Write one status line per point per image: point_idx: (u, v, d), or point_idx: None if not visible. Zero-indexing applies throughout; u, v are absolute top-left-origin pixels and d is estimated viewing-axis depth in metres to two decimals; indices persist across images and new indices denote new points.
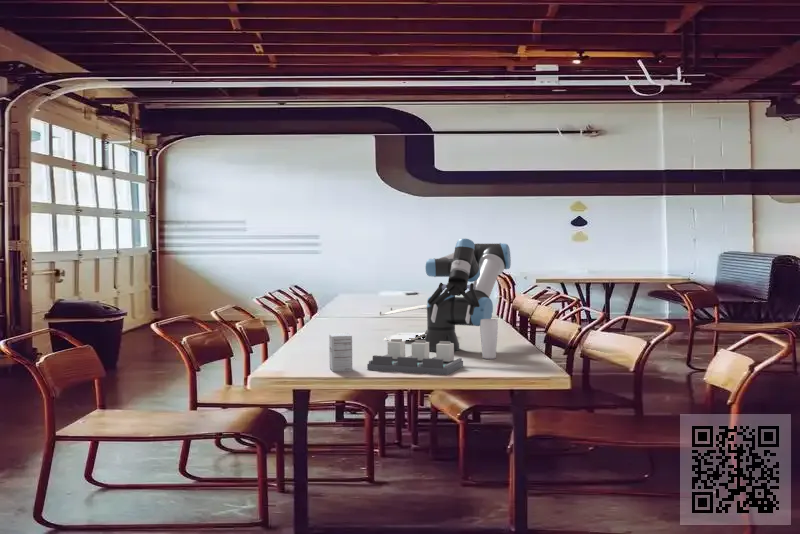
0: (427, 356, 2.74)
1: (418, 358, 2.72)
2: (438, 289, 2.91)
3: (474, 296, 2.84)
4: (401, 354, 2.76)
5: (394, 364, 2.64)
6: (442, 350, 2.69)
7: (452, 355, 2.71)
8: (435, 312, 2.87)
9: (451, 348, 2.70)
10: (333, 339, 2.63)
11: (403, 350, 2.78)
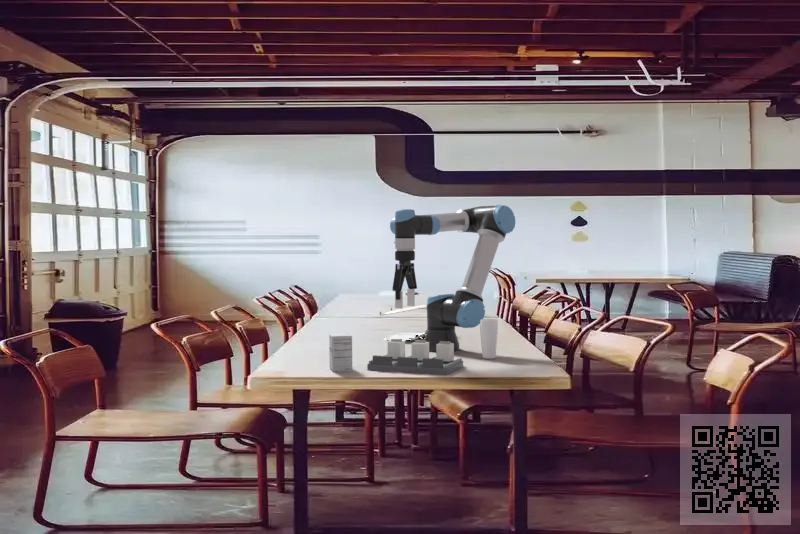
0: (427, 356, 2.74)
1: (418, 358, 2.72)
2: None
3: None
4: (401, 354, 2.76)
5: (394, 364, 2.64)
6: (442, 350, 2.69)
7: (452, 355, 2.71)
8: (410, 296, 2.90)
9: (451, 348, 2.70)
10: (333, 339, 2.63)
11: (403, 350, 2.78)
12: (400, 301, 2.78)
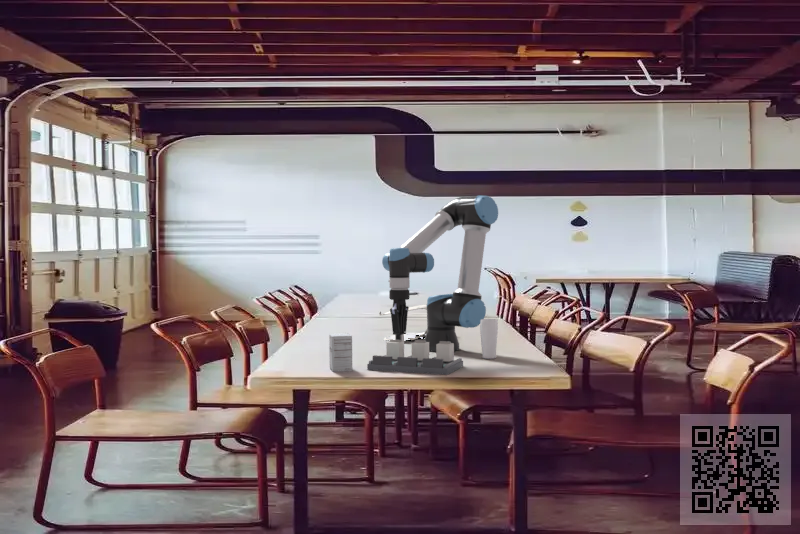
0: (427, 356, 2.74)
1: (418, 358, 2.72)
2: None
3: None
4: (400, 355, 2.75)
5: (394, 364, 2.64)
6: (442, 350, 2.69)
7: (452, 355, 2.71)
8: None
9: (451, 348, 2.70)
10: (333, 339, 2.63)
11: (402, 350, 2.77)
12: None
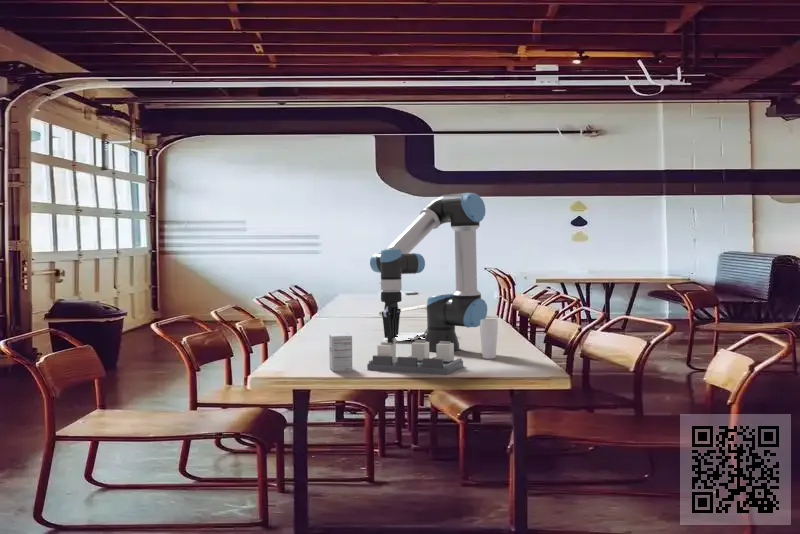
0: (427, 356, 2.74)
1: (418, 358, 2.72)
2: None
3: None
4: None
5: (394, 364, 2.64)
6: (442, 350, 2.69)
7: (452, 355, 2.71)
8: None
9: (451, 348, 2.70)
10: (333, 339, 2.63)
11: (393, 354, 2.69)
12: None
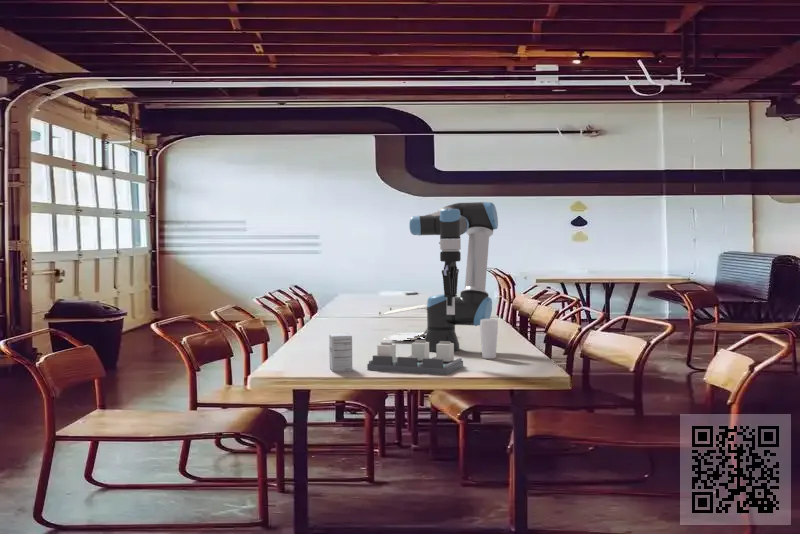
0: (427, 356, 2.74)
1: (418, 358, 2.72)
2: None
3: None
4: None
5: (394, 364, 2.64)
6: (442, 350, 2.69)
7: (452, 355, 2.71)
8: None
9: (451, 348, 2.70)
10: (333, 339, 2.63)
11: (393, 354, 2.69)
12: (452, 307, 2.77)
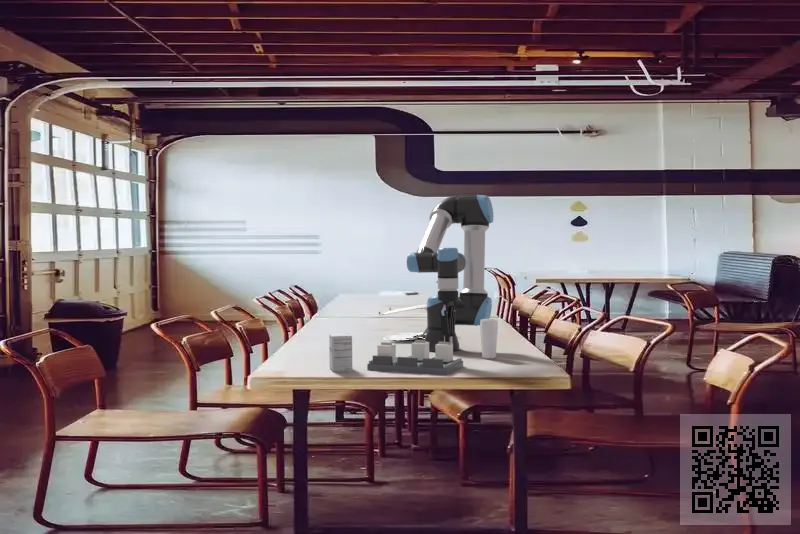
0: (427, 356, 2.74)
1: (418, 358, 2.72)
2: None
3: None
4: None
5: (394, 364, 2.64)
6: (441, 350, 2.68)
7: (451, 356, 2.70)
8: None
9: (450, 348, 2.69)
10: (333, 339, 2.63)
11: (393, 354, 2.69)
12: None
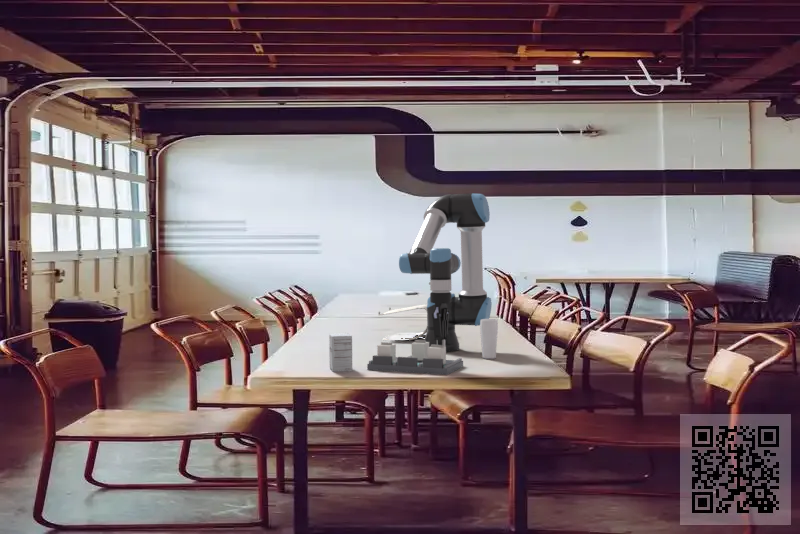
0: (427, 356, 2.74)
1: (418, 358, 2.72)
2: None
3: None
4: None
5: (394, 364, 2.64)
6: (433, 354, 2.60)
7: (444, 359, 2.63)
8: None
9: (443, 352, 2.61)
10: (333, 339, 2.63)
11: (393, 354, 2.69)
12: None
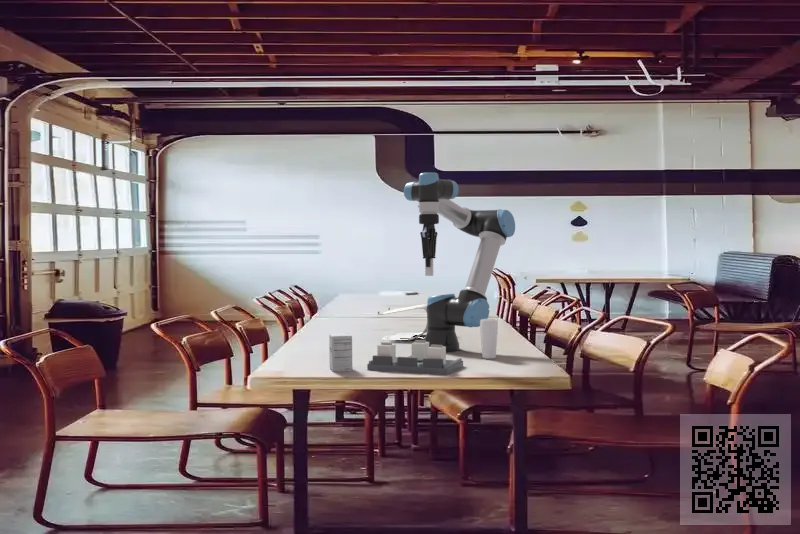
0: (427, 356, 2.74)
1: (418, 358, 2.72)
2: None
3: None
4: None
5: (394, 364, 2.64)
6: (433, 354, 2.60)
7: (444, 359, 2.62)
8: None
9: (443, 352, 2.61)
10: (333, 339, 2.63)
11: (393, 354, 2.69)
12: (430, 268, 2.85)
